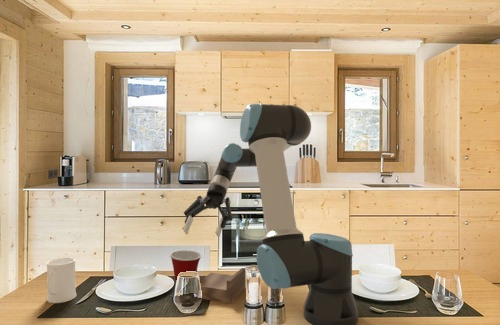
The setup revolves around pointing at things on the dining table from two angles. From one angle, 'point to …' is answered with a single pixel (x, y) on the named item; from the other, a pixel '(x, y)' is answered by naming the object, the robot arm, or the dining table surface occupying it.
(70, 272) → the mug
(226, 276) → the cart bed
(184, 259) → the plastic cup
